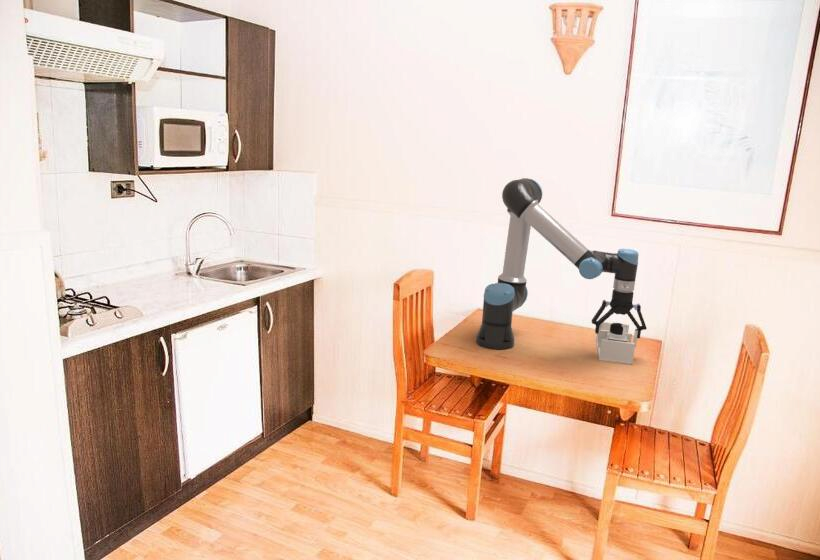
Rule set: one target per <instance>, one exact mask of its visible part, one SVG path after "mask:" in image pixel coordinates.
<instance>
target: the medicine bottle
mask: <svg viewBox="0 0 820 560" xmlns="http://www.w3.org/2000/svg"><path fill="white" fill-rule="evenodd" d="M611 323H612V324H611V325H610V332H609V333H607V336H606V340H613V341H622V342H628V340H627V337H626V331H627V326H626V325H624V324H625V323H621V322H611Z"/></svg>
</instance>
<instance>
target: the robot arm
mask: <svg viewBox="0 0 820 560" xmlns="http://www.w3.org/2000/svg"><path fill="white" fill-rule="evenodd" d="M501 195H502V196H501V197H502V202H503V204H504V206H506V208H507V209H506V211H507V213H508V214H509V223H508V230H507V237H506V245H505V252H504V260H503V267H502V273H500V274H499V275H498V276H497V282H495V283H490V284H488V285H487V286H486V287H485V289H484V292H483V304H482V306H483V307H482V316H481V317H482V320H481V324H480V327H479V329H478V332H477V334H476V337H475V342H476V344H477V345H479V346H480V347H484V348H488V349H492V350H507V349H508V350H509V349H511V348H513V347H514V346H515V335H514V331H513V328H512V321H513V312H515V311H516V310H517V309H519V308H521V307H522V306H523V305H524V304H525V302H526V301H527V299H528V294H529V293H528V287H527V281H528V280H527V279H526V277H525V270H526V268H525V267H526V262H527V254H528V248H529V241H530V233H531V228H533V229H534V230H535V231H536V232H538V233H539V234H540V235H541V236H542V237H543V238H544V239H545V240H546V241H547V242H548V243H550V244H551V246H553V247H554V249H556V250H557V251H558V252H559V253H560V254H561V255H562V256H564V257H565V258H566V259H567V260H568V261H569V262H571V264H573V265H574V266H575V267H576V268H577V269H578V272H579V274H580V276H581V277H582V278H583V279H585V280H594V279H595V278H597V277H599V276H601V274H602V273H609V274H614V276H613V277H614V279H613V286H612V288H613V290H612V292H611V293H612V294H611V300H610V301H606V299H603V300H602V303H601V306H600V307H599V309H598V310H597V311H596V313H595V314H594V316H593V317H592V318H591V324H593V325H595V330H594V332H595V334H596V337H597V342H596V344H597V343H599V342H600V334H601V324H602V323H603V322H606V320H607V319H609V318H610V317H611V316H612V315H614V314H616V315H622V316H623V315H624V316H625V315H627V316H628V317H629V319H630V320H631V322H632V323H633V325H634V326H635V327H636V328H634V334H633V341H632V343H635V348H636V346H637V339H641V333H642V331H643V330H647V325H646V323H645V320H644V317H643V314H642V312H641V308H642V307H641V304H640V303H633V301H634V300H633V299H634V291H635V285H636V279H637V271H638V265H639V252H638V251H637V250H635V249H630V248H619V249H617V250H618V251H617V252H616V253H615V252H614V253H613V252H605V251H599V250H590V249H588V247H586V246H585V245H584V244H583V243H582V242H581V241H580V240H578V239H577V238H576V237H575V236H574V235H573V234H572V233H571V232H570V231H569V230H568V229H566V228H565V227H564V226H563V225H562V224H561V223H559V221H557V220H556V219H555V218H554V216H552V215H551V214H549V212H547V211H546V210H545V209H544V208H543V207H542V206H541V205H540V202H541V201H542V199H543V189H542V186H541V185H540V184H539V182H538V181H537V180H535V179H533V178H527V177H524V178H523V177H522V178H519V179H514V180H511V181H509V182H508V183H506V185H505V186H504V187H503V189H502V192H501ZM608 306H610V309H609V310H608V311H607V312H606V313H604V315H602V314H603V312H604V310H605V309H606V308H607V307H608ZM632 309H634V310H635V311H636V312H637V315H638V317H639V320H640V324H641V325H640V324H639V322H638V321H637V319H636V318H635V316H634V315H633V313H632V312H631V310H632ZM601 315H602V316H601ZM597 334H598V336H597Z"/></svg>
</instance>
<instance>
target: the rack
mask: <svg viewBox="0 0 820 560" xmlns="http://www.w3.org/2000/svg"><path fill="white" fill-rule="evenodd" d="M612 323H613V322H611V321H610V322H609V321H604V322H603V323H602V324H601V334H600V342H599V343H597V336H598V334H596V338H595V339H596V340H595V341H596V346H597V347H596V348H597V354H598V360H599V361H603V362H613V363H618V364H619V363H621V364H626V365H627V364H628V365H633V362H634V356H635V349H636V347H635V343H633V342H632V338H633V337H632V336H633V333H632V332H629V331H630V330H629V328H630V324H626V323H623V324H624V325H626V326H627V331H626V337H627V340H628V342H622V341H613V340H606V336H607V333H609V332H610V325H611V324H612Z"/></svg>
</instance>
